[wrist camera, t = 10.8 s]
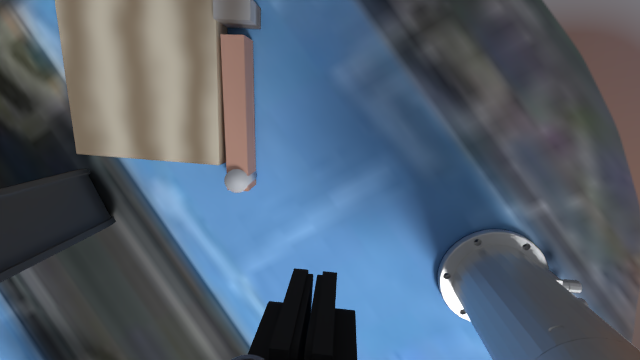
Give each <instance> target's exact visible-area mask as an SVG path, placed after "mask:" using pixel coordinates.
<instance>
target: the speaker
mask: <svg viewBox="0 0 640 360" xmlns="http://www.w3.org/2000/svg"><path fill="white" fill-rule="evenodd" d="M88 174H90V171H89V170H88V169H79V170H74V171H70V172H66V173H62V174H58V175H54V176H50V177H45V178H41V179H37V180H33V181H29V182H25V183H21V184H17V185H13V186H9V187H4V188H0V282H2V281H4V280H6V279H8V278H10V277H12V276H14V275H16V274H18V273H20V272H21V271H23V270H25V269H27V268H29V267H31V266H33V265H35V264H37V263H39V262H41V261H43V260H45V259H47V258H49V257H51V256H53V255H54V254H56V253H58V252H60V251H62V250H64V249H66V248H68V247H70V246H72V245H74V244H76V243H78V242H80V241H82V240H84V239H86V238H87V237H89V236H91V235H93V234H95V233H97V232H99V231H101V230H103V229H105V228H107V227H109V226H110V225H112V224H113V223H115V222H116V221H115V219H114V217H113V216H112V217H110V215H109V213H108V212H107V210H106V208H105V206H104V204H103V202H102V200H101V198H100V197H99V195H98V193H97V191H96V189H95V187H94V185H93V183H92V181H91V180H90V178H89V175H88Z"/></svg>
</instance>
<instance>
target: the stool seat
mask: <svg viewBox="0 0 640 360" xmlns="http://www.w3.org/2000/svg"><path fill="white" fill-rule="evenodd" d="M55 5H56V12H57V19H58V26H59V33H60V40H61V47H62V54H63V61H64V68H65V76H66V83H67V90H68V97H69V104H70V111H71V118H72V125H73V132H74V139H75V146H76V153H77V154H84V155H97V156H110V157H122V158H135V159H148V160H160V161H173V162H185V163H198V164H211V165H221V164H223V163H225V162H226V145H225V123H224V102H223V80H222V59H221V37H220V34H227V28H248V29H261V8H260V7H259V6H258V5H257V4H256V3H255V2H254V1H253V0H55Z"/></svg>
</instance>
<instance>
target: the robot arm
mask: <svg viewBox="0 0 640 360" xmlns="http://www.w3.org/2000/svg"><path fill="white" fill-rule="evenodd" d="M336 281H337V273H334V272H324V271H323V275H317V280H316V286H315V292H314V298H313V303H312V287H313V274H308V270H305V269H294V271H293V274H292V277H291V280H290V283H289V286H288V289H287V293H286V296H285V299H284V302H283V303H281V302H272V301H269V302H268V304H267V307H266V309H265V312H264V314H263V317H262V319H261V322H260V324H259V327H258V330H257V332H256V335H255V337H254V340H253V342H252V345H251V347H250V350H249V352H248V355H241V356H238V357H236V358H233V359H232V360H357V344H356V320H355V310H346V309H337V308H335V299H336ZM438 286H439V290H440V293H441V295H442V297H443V299H444V301H445V302H446V304H447V306H448V307H449V308H450V309H451V310H452V311H453V312H454V313H455V314H457V315H458V316H460V317H461V318H464V319H466V320H468V321H471V323H472V325H473V326H474V328H475V330H476V332H477V333H478V335H479V337H480V339H481V340H482V342H483V344H484V345H485V347H486V349H487V351H488V352H489V354H490V356H491V358H492V359H493V360H640V350H638V349H637V348H636V347H635V346H634V345H633V344H631V343H630V342H629V341H628V340H627V339H625V338H624V337H623V336H622V335H621V334H619V333H618V332H617V331H616V330H615V329H613V328H612V327H611V326H610V325H609V324H608V323H606V322H605V321H604V320H603V319H602V318H600V317H599V316H598V315H597V314H596V313H594V312H593V311H592V310H591V309H590V308H589V307H588V304H587V302H586V301H585V300H584V299H582V298H577V297H575V296H574V295H573V294H572V293H580V292H581V291H582V286H581V284H580V282H579V281H577V280H567V279H564V280H561V279H559V278H558V277H557V276H556V275H554V274H553V273H552V272H551V271H550V270H549V268H548V264H547V261H546V258H545V256H544V255H543V253H542V252H541V250H540V249H539V248H538V247H537V246H536V245H535V244H534V243H533V242H531V241H530V240H528V239H527V238H526V237H524V236H522V235H520V234H518V233H515V232H512V231H508V230H500V229H491V230H483V231H479V232H475V233H473V234H470V235H468V236H466V237H464V238H462V239H461V240H459V241H458V242H456V243H455V244H454V245H453V246H452V247H451V248H450V249H449V250H448V252H447V253H446V254H445V256H444V257H443V259H442V261H441V264H440V266H439V271H438ZM311 303H312V309H311Z"/></svg>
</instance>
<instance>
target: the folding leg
mask: <svg viewBox="0 0 640 360" xmlns="http://www.w3.org/2000/svg"><path fill="white" fill-rule="evenodd" d="M220 37H221V59H222V80H223V102H224V123H225V145H226V167H227V174H226V176H225V185H226V187H227V188H228V190H230V191H232V192H235V193H239V192H242V191H249V190H250V189H251V188H252V187H254V186H255V185H256V177H257V173H256V160H255V114H254V68H253V41H252V40H251V39H249V38H248V37H246V36H245V35H228V34H220Z"/></svg>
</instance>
